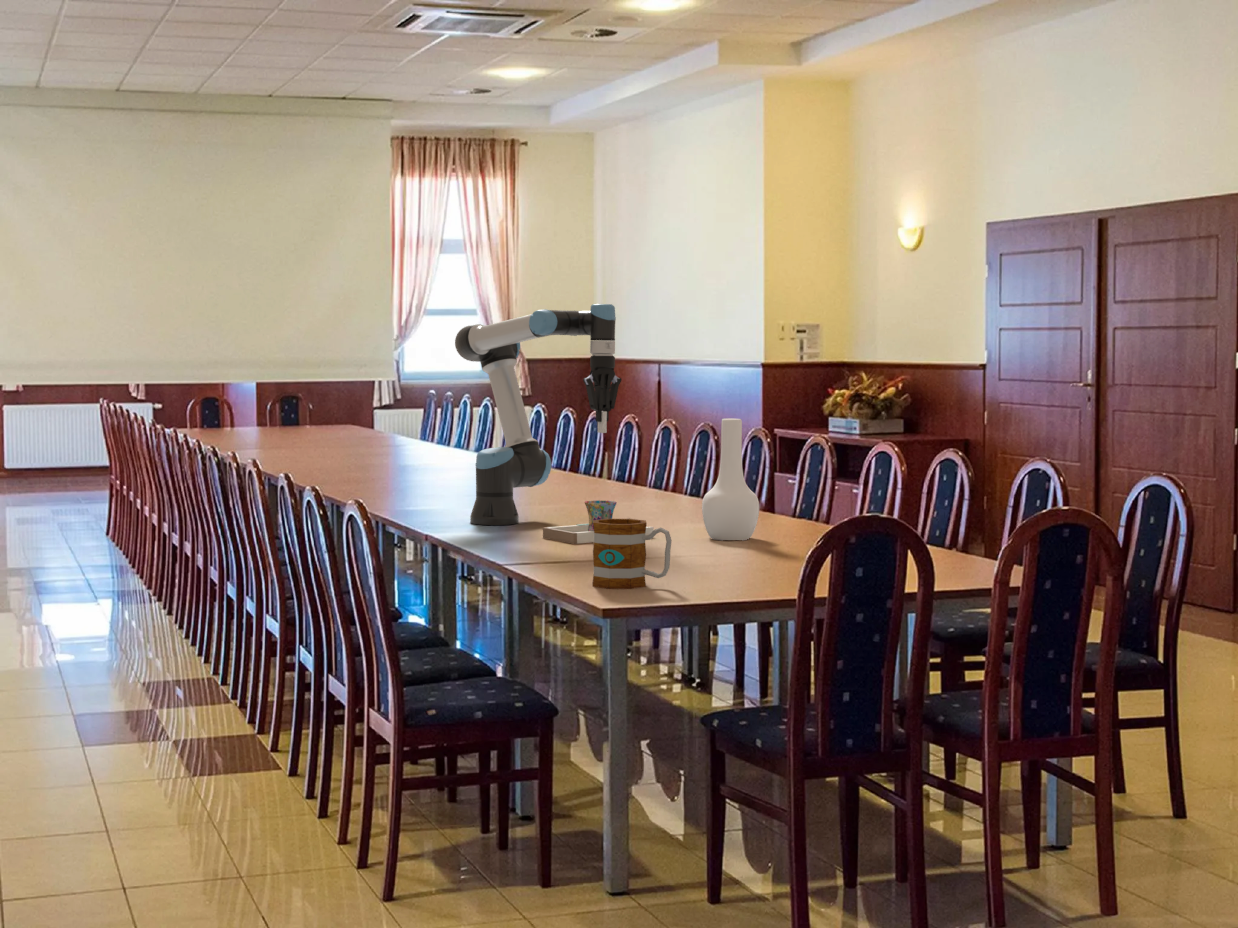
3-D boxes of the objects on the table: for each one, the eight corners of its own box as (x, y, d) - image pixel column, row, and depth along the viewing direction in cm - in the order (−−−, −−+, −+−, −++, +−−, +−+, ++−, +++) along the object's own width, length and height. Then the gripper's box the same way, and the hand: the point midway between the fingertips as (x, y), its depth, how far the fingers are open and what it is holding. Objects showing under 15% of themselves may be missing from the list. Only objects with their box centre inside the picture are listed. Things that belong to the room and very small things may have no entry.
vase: (734, 543, 453) (736, 421, 451) (689, 538, 465) (691, 418, 462) (770, 538, 466) (772, 419, 463) (725, 533, 477) (727, 417, 474)
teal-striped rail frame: (537, 536, 466) (537, 525, 465) (615, 530, 482) (616, 520, 482) (579, 544, 448) (579, 533, 447) (659, 538, 464) (659, 527, 464)
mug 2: (581, 586, 372) (582, 523, 370) (602, 579, 384) (603, 517, 383) (661, 592, 365) (661, 527, 363) (679, 584, 377) (680, 521, 376)
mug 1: (617, 540, 459) (618, 503, 458) (585, 540, 458) (585, 503, 458) (613, 535, 471) (614, 499, 470) (582, 535, 470) (582, 499, 469)
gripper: (591, 355, 476) (591, 433, 478) (627, 355, 484) (626, 432, 486) (577, 354, 482) (577, 432, 484) (613, 355, 490) (612, 431, 492)
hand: (602, 432), depth 485 cm, fingers closed
